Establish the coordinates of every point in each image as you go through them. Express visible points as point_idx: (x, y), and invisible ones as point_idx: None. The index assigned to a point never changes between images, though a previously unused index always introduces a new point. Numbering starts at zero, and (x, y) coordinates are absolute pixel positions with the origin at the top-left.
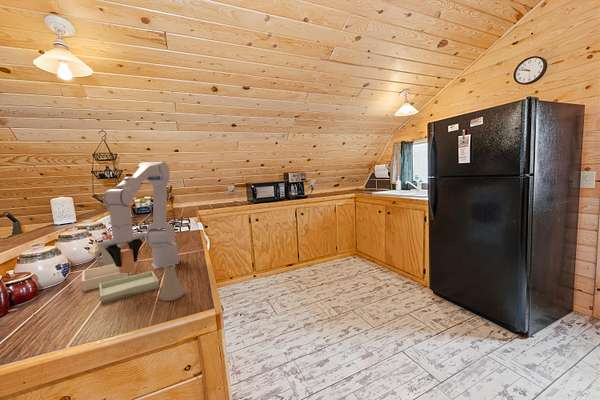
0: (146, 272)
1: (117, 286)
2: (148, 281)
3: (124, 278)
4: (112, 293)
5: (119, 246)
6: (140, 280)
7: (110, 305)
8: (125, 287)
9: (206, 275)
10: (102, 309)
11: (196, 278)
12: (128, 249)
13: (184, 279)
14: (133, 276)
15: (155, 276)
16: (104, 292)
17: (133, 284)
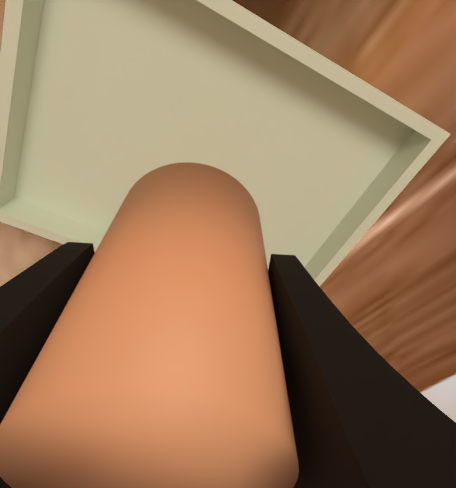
0: (409, 115)
1: (159, 61)
2: (306, 213)
3: (243, 27)
4: (54, 240)
5: None
6: (308, 138)
7: (47, 248)
8: (179, 153)
9: (450, 371)
10: (8, 251)
11: (412, 358)
12: (247, 464)
13: (396, 324)
14: (311, 67)
15: (338, 262)
16: (50, 77)
17: (236, 158)
